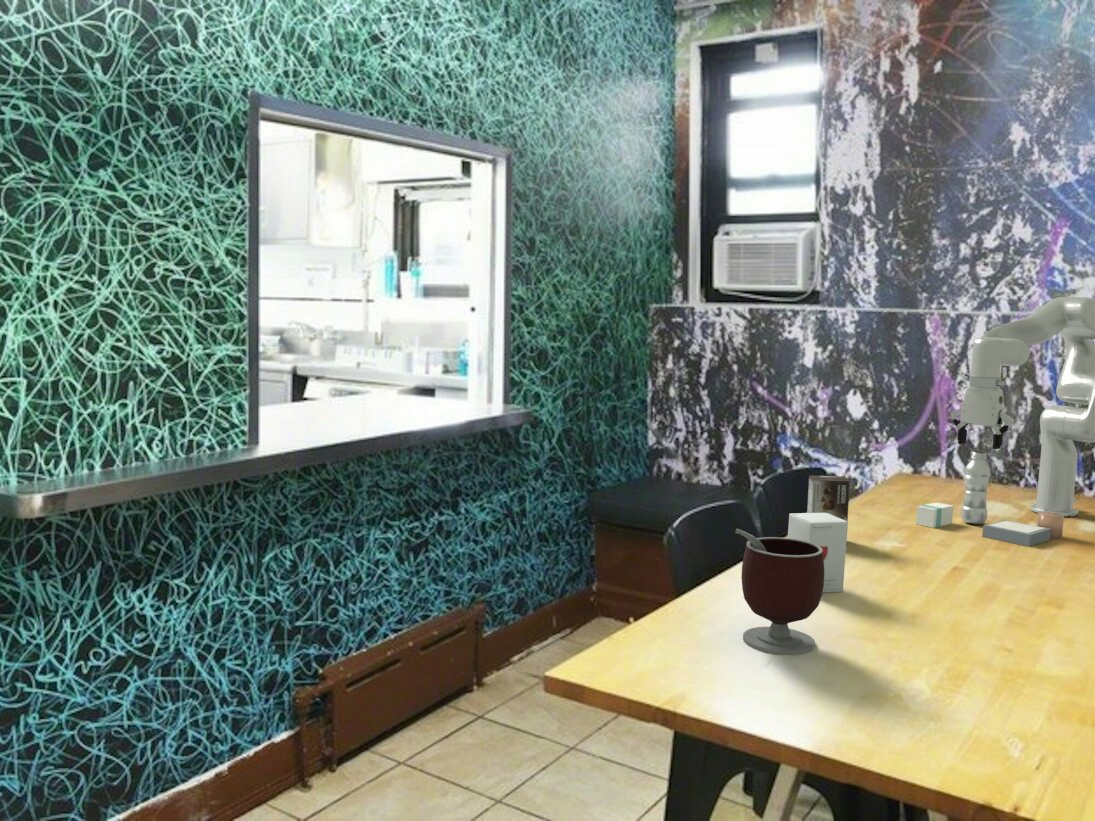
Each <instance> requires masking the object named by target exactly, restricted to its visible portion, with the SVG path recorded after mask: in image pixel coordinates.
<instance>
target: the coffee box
mask: <svg viewBox="0 0 1095 821" xmlns="http://www.w3.org/2000/svg"><path fill="white" fill-rule="evenodd" d="M850 483H851V482H850V479H848V477H846V476H839V475H837V476H836V475H814V474H813V475H812V474H811V475H809V476H808V492H807V510H806V513H828V514H831V515H833V516H835V517H838V518H840V519H843V520H845V521H847V522H848V523H849V521H848V520H849V518H848V517H849V504H850V503H849V502H850V500H849V499H850V498H849V497H850Z"/></svg>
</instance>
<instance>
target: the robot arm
mask: <svg viewBox="0 0 1095 821" xmlns="http://www.w3.org/2000/svg"><path fill="white" fill-rule="evenodd" d="M1058 333H1061V336H1062V338H1063V341H1064V343H1065V347H1066V355H1065V359H1064V363H1063V366H1062V369H1061V372H1060V375H1059V379H1058V381H1057V385H1056V390H1055V392H1056V393H1055V394H1056V396H1057V398H1058V399H1059V400H1060V401H1062V402H1064V403H1065V402H1066V403H1070V404H1076V405H1085V406H1087V408H1085V407H1079V406H1078V407H1077V406H1071V405H1060V404H1056V405H1051V406H1048V407H1046V408H1045V409H1043V411H1042V412H1041V414H1040V416H1039V427H1040V434H1041V435H1040V436H1041V447H1040V449H1041V450H1040V459H1039V460H1040V461H1039V472H1038V482H1037V493H1036V504H1035V503H1034V504H1031V505H1030V506H1029V507H1030V508H1029V510H1030V511H1032V512H1034V513H1037V514H1038V513H1039V512H1053V513H1058V514H1062V515H1064V518H1065V517H1066V518H1067V517H1068V516H1070V517H1077V516H1078V515H1079V510H1077V509H1076V508H1073V507H1074V504H1075V503H1076V501H1077V499H1076V497H1075V496H1074V495H1075V487H1076V486H1075V484H1076V478H1077V463H1078V452H1077V450H1078V449H1077V448H1076V445H1075V444H1074V441H1077V442H1085V443H1095V344H1094V343H1093V341H1092V340H1095V299H1094V298H1092V297H1088V296H1087V297H1086V296H1059V297H1055V298H1053V299H1050V300H1049V301H1047V302H1046V303H1045V304H1044V305H1042V306H1041V307H1038V309H1036V310H1035V311H1033V312H1032V313H1031V314H1030V315H1027V316H1025V317H1022V318H1019V319H1016V320H1013V321H1010V322H1007V323H1004V324H1001V325H998V326H996V327H994V328H992V329H990V330H989V331H988V332H986V333H985V334H983V335H982V336H981V337H977V338H976V339H974V341H973V344H972V351H971V352H972V353H971V363H970V364H971V365H970V367H971V368H970V376H969V377H970V378H969V387H966V390H965V393H964V396H963V397H964V398H963V401H962V405H961V407H960V408H959V409H956V410H953V411H951V412H950V413H949V414H950V418H951V420H952V423H953V424H954V426H955V427H956V430H957V444H958V445H965V444H967V435H968V430H967V429H966V428H967V427H968V426H969V425H974V426H982V427H991V428H992V429H993V431H994V434H993V436H992V438H993V439H992V447H991V448H992V449H993V450H1000V449H1001V447H1002V445H1003V437H1004V435H1005V434H1006V432H1008V431H1009V430H1010V429H1011V427H1012V426H1013V424H1014V423H1015V419H1014V418H1013V417H1011V416H1009V415H1008V414H1006V413H1005V400H1004V399H1005V398H1004V390H1003V389H1000V388H1001V387H1005V385H1006V381H1003V380H1002V378H1001V376H1002V366H1004V367H1005V366H1006V367H1007V366H1008V367H1019V366H1021V365H1023V364H1025V363H1026V362H1027V361H1028V359H1029V358H1030V355H1031V349H1030V347H1029V346H1034V345H1038V344H1042V343H1046V342H1047V341H1049V340H1050V339H1052V338H1053V337H1054V336H1056V335H1057V334H1058ZM959 415H960V419H959ZM1004 422H1005V424H1004ZM1003 424H1004V425H1003ZM1076 515H1077V516H1076Z"/></svg>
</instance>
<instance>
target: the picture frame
mask: <svg viewBox="0 0 1095 821" xmlns="http://www.w3.org/2000/svg"><path fill="white" fill-rule="evenodd" d="M981 534H982V535H981V537H983V538H986V537H987V539H991V540H995V541H1002V542H1007V543H1010V544H1016V545H1019V546H1024V547H1028V546H1029V547H1032V545H1033V546H1036V545H1039V544H1042V543H1045V541H1046V542H1049V541H1051V539H1050V537H1051V529H1050V528H1045V527H1039V526H1037V525H1033V524H1029V523H1023V522H1019V521H1013V520H1008V519H1002V520H999V521H994V522H991V523H988V524H987V523H986V524H984V525H983V526H982V533H981ZM1035 544H1036V545H1035Z"/></svg>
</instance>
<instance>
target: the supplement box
mask: <svg viewBox="0 0 1095 821" xmlns="http://www.w3.org/2000/svg"><path fill="white" fill-rule="evenodd" d="M848 526H849V521H848V522H847V521H845V520H843V519H840V518H838V517H835V516H833V515H831V514H828V513H807V512H801V513H800V512H799V513H798V512H797V513H796V512H795V513H789V514H788V529H787V538H791V539H798V540H803V541H807V542H811V543H814V544H816V545H818V546H820V547H821V548H822V549H823V552H822V554H823V560H824V572H825V573H824V587H823V591H822V594H824V593H825V594H826V593H841V592H844V579H845V568H846V567H845V566H846V556H847V555H846V554H847V543H848V542H847V540H848V529H849V527H848Z"/></svg>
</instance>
